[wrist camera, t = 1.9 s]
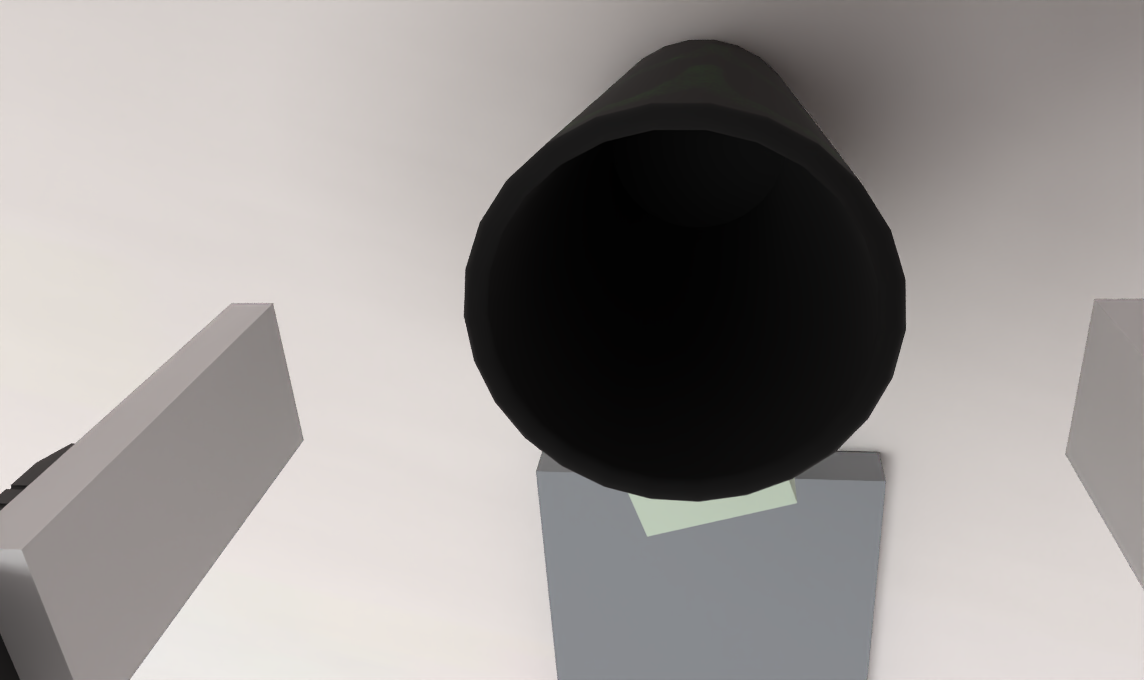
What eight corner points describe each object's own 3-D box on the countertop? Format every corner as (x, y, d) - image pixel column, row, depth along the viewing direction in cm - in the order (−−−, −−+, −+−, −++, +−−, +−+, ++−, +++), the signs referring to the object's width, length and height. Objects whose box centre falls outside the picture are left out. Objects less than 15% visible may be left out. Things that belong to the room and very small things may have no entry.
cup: (683, 311, 30) (656, 567, 19) (511, 129, 28) (377, 300, 17) (895, 151, 27) (1001, 353, 16) (717, -66, 25) (705, -2, 14)
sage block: (612, 330, 30) (592, 411, 26) (746, 290, 29) (748, 369, 25) (659, 442, 32) (647, 536, 28) (787, 409, 31) (796, 503, 26)
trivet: (544, 444, 33) (535, 471, 31) (878, 452, 31) (886, 481, 29) (569, 698, 38) (563, 731, 37) (855, 717, 36) (860, 753, 35)
